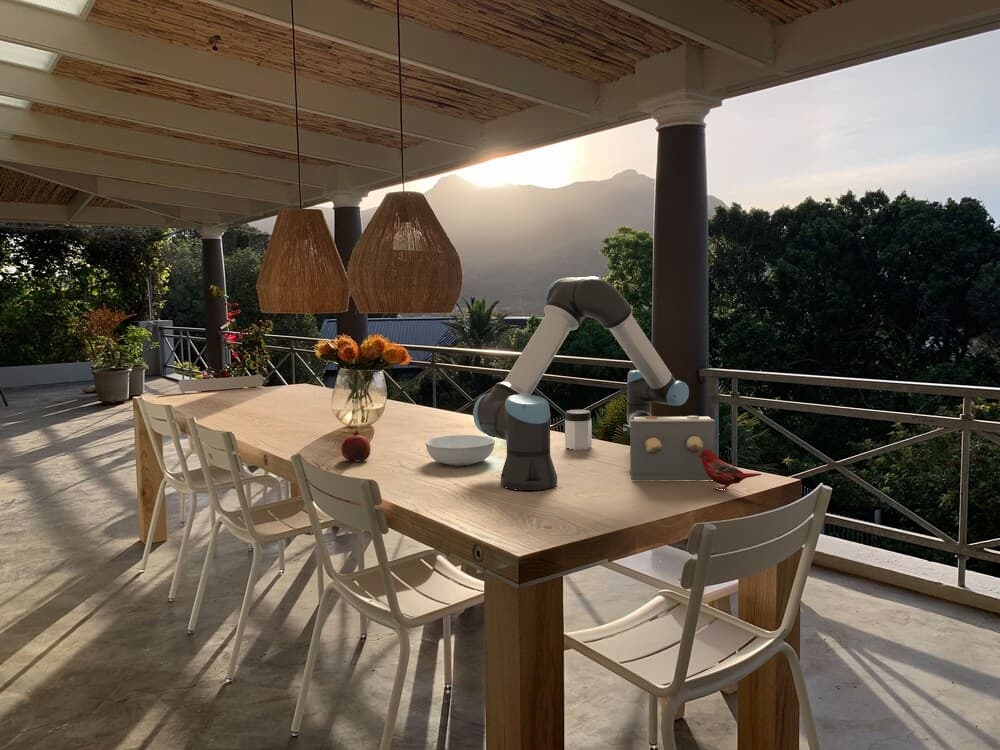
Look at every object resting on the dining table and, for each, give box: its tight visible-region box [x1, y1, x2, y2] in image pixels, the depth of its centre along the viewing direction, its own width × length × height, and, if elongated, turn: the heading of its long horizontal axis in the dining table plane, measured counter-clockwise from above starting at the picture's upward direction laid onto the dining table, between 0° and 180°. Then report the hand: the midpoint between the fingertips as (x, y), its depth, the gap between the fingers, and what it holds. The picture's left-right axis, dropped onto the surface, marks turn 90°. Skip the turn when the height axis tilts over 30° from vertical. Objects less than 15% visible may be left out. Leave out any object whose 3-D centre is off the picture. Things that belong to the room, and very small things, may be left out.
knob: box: [685, 435, 703, 453], centre depth 196 cm, size 9×4×4 cm, turn 174°
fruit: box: [340, 428, 371, 462], centre depth 225 cm, size 9×10×10 cm
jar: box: [564, 409, 593, 451], centre depth 237 cm, size 9×8×12 cm
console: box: [629, 415, 716, 480], centre depth 196 cm, size 6×22×17 cm, turn 84°
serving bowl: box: [425, 434, 495, 466], centre depth 220 cm, size 21×21×7 cm
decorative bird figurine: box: [698, 449, 762, 491], centre depth 182 cm, size 3×18×10 cm, turn 42°
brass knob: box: [644, 437, 662, 454], centre depth 195 cm, size 9×4×4 cm, turn 174°
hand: (650, 439), depth 200 cm, fingers closed
